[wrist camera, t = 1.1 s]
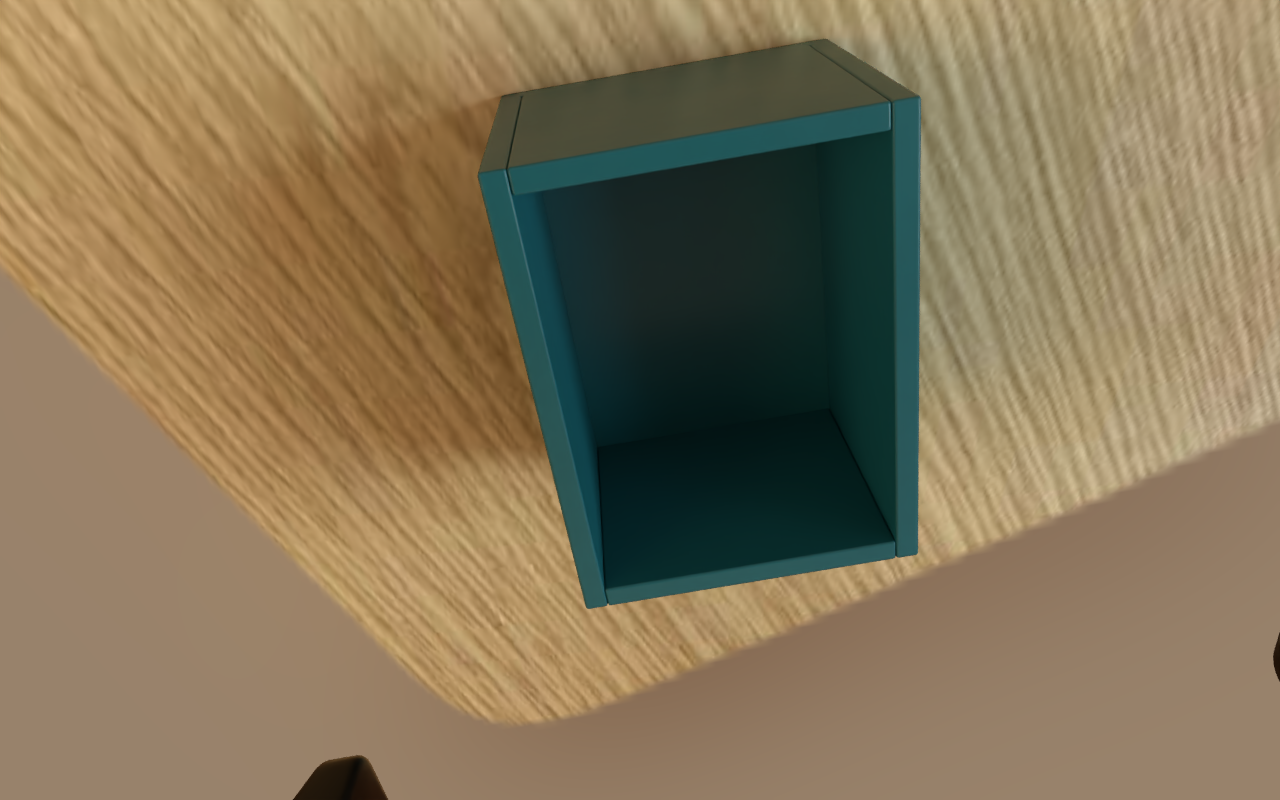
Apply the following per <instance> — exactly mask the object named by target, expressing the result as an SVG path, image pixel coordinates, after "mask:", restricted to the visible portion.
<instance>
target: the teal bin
mask: <svg viewBox="0 0 1280 800" xmlns="http://www.w3.org/2000/svg"><path fill="white" fill-rule="evenodd" d="M920 157H921V98H920V96H918V95H917V94H915V93H914V92H912V91H910V90H909V89H907V88H905V87H904V86H902V85H901V84H899V83H897V82H896V81H894V80H892V79H891V78H889V77H888V76H886V75H884V74H883V73H881V72H879V71H878V70H876V69H875V68H873V67H871V66H870V65H868V64H867V63H865V62H863V61H862V60H860V59H858V58H857V57H855V56H854V55H852V54H850V53H849V52H847V51H845V50H844V49H842V48H841V47H839V46H837V45H836V44H834V43H832V42H831V41H829V40H828V39H822V40H816V41H810V42H805V43H799V44H793V45H788V46H782V47H776V48H770V49H765V50H759V51H753V52H748V53H742V54H736V55H731V56H725V57H719V58H714V59H708V60H702V61H697V62H691V63H685V64H680V65H674V66H668V67H663V68H657V69H651V70H646V71H640V72H634V73H628V74H623V75H617V76H611V77H606V78H600V79H594V80H589V81H583V82H577V83H572V84H566V85H560V86H555V87H549V88H543V89H538V90H532V91H526V92H521V93H515V94H509V95H504V96H502V97H501V100H500V103H499V107H498V110H497V113H496V116H495V120H494V123H493V126H492V129H491V133H490V136H489V139H488V143H487V146H486V149H485V152H484V156H483V159H482V162H481V165H480V169H479V172H478V180H479V184H480V188H481V192H482V196H483V200H484V204H485V208H486V212H487V216H488V219H489V223H490V227H491V231H492V235H493V239H494V243H495V247H496V251H497V255H498V259H499V263H500V267H501V271H502V275H503V279H504V283H505V287H506V291H507V295H508V299H509V303H510V307H511V311H512V315H513V319H514V323H515V327H516V331H517V335H518V339H519V343H520V347H521V351H522V355H523V359H524V363H525V367H526V371H527V375H528V379H529V383H530V387H531V391H532V395H533V399H534V402H535V406H536V410H537V414H538V418H539V422H540V426H541V430H542V434H543V438H544V442H545V446H546V450H547V454H548V458H549V462H550V466H551V470H552V474H553V478H554V482H555V486H556V490H557V494H558V498H559V502H560V506H561V510H562V514H563V518H564V522H565V526H566V530H567V534H568V538H569V542H570V546H571V550H572V554H573V558H574V562H575V566H576V570H577V574H578V578H579V582H580V585H581V589H582V593H583V597H584V601H585V605H586V608H587V609H591V608H597V607H603V606H607V604H609V605H615V604H621V603H627V602H633V601H639V600H645V599H651V598H657V597H663V596H669V595H675V594H681V593H687V592H693V591H700V590H706V589H712V588H718V587H724V586H730V585H736V584H742V583H748V582H754V581H760V580H766V579H772V578H778V577H784V576H790V575H796V574H802V573H808V572H814V571H820V570H827V569H833V568H839V567H845V566H851V565H857V564H863V563H869V562H875V561H881V560H887V559H893V558H895V556H896V557H905V556H911V555H916V554H917V553H918V453H919V305H920Z"/></svg>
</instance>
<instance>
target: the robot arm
mask: <svg viewBox="0 0 1280 800" xmlns="http://www.w3.org/2000/svg"><path fill="white" fill-rule="evenodd" d="M1273 660H1274V667H1275V671H1276V674H1277V676H1278V679H1279V681H1280V633H1279V636H1278V641H1277V643H1276V647H1275V650H1274V655H1273ZM293 800H388V798H387V796H386V794H385V792H384V790H383V788H382V786H381V784H380V782H379V780H378V777H377V776H376V773H375V771H374V769H373V767H372V765H371V763H370V762H369V760H368V759H367V758H365V757H364V756H360V755H356V756H350V757H344V758H339V759H333V760H328V761H326V762H324V763H322V764H321V765H320V766H319V767H317V769H316V770H315V771H314V772H313V774H312V775H311V776H310V778H309V779H308V780H307V782H306V783H305V784H304V786H303V787H302V788H301V790H300V791H299V792H298V794H297V795H296V796H295V798H294V799H293Z"/></svg>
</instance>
